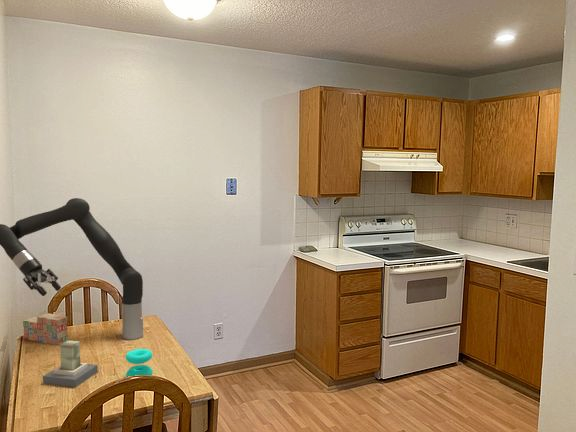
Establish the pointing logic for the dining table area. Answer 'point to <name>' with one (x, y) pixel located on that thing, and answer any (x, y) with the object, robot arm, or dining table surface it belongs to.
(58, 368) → the plinth
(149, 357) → the donuts
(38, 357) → the dining table surface
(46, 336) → the stack of blocks
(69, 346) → the pillar
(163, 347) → the dining table surface
